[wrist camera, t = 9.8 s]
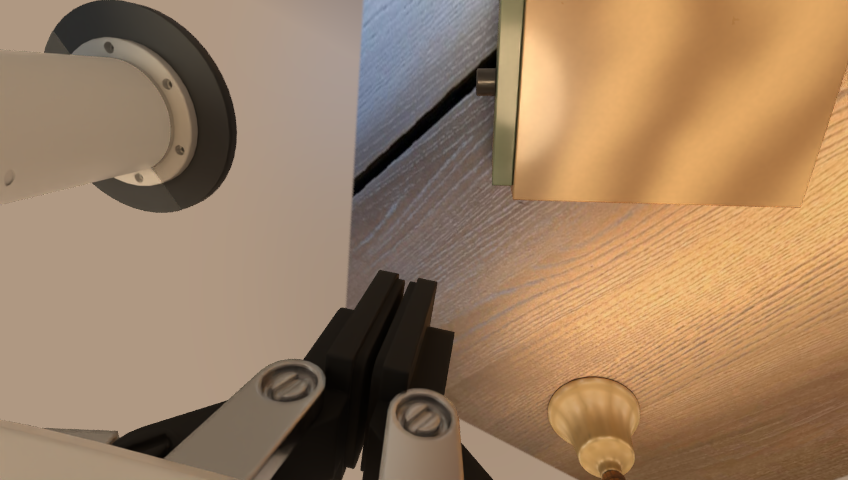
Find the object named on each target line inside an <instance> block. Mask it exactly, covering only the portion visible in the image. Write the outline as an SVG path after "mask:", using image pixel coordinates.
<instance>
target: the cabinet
mask: <svg viewBox="0 0 848 480" xmlns="http://www.w3.org/2000/svg"><path fill="white" fill-rule="evenodd" d="M847 65H848V0H525V6H524V22H523V37H522V52H521V67H520V82H519V97H518V112H517V128H516V143H515V158H514V173H513V185H512V186H510V187H511V192H512V197H513V200H538V201H574V202H610V203H646V204H682V205H719V206H755V207H791V208H800V207H801V205H802V202H803V199H804V196H805V193H806V190H807V187H808V184H809V181H810V178H811V175H812V172H813V169H814V166H815V163H816V159H817V156H818V153H819V150H820V147H821V144H822V141H823V138H824V135H825V132H826V129H827V126H828V123H829V120H830V117H831V114H832V111H833V108H834V104H835V101H836V98H837V95H838V92H839V89H840V86H841V83H842V80H843V77H844V74H845V71H846V68H847Z"/></svg>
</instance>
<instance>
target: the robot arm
mask: <svg viewBox="0 0 848 480" xmlns="http://www.w3.org/2000/svg"><path fill="white" fill-rule="evenodd" d="M197 137H198V127H197V117H196V113H195V109H194V105H193V102H192V100H191V98H190V95H189V93H188V90H187V89H186V87H185V85H184V84H183V82H182V80H181V79H180V77H179V76H178V74H177V73H176V72H175V71H174V70H173V68H172V67H171V66H170V65H169V64H168V63H167V62H166V61H165V60H164V59H163V58H162V57H160V56H159V55H158V54H157V53H155V52H154V51H152V50H151V49H149V48H147V47H146V46H144V45H141V44H139V43H136V42H134V41H131V40H126V39H120V38H111V37H103V38H97V39H92V40H90V41H88V42H86V43H84V44H82V45H80V46H79V47H78V48H77V49H76V50H75V51H74V52H73V53H72V54H71V55H67V54H54V53H40V52H27V51H11V50H0V205H2V204H7V203H10V202H15V201H19V200H23V199H27V198H31V197H35V196H39V195H44V194H48V193H52V192H56V191H60V190H64V189H68V188H72V187H76V186H80V185H84V184H88V183H92V182H97V181H101V180H105V179H109V178H113V177H114V178H116V179H118V180H121V181H123V182H125V183H128V184H133V185H138V186H152V185H157V184H161V183H164V182H167V181H170V180H172V179H174V178H175V177H177V176H178V175H180V174H181V173H182V172H183V171H184V170H185V169H186V168H187V167H188V165H189V163H190V162H191V160H192V158H193V156H194V153H195V149H196V146H197ZM404 286H405V280H402V279H399V274H397V273H392V272H387V271H383V270H379V271H378V273H377V275H376V276H375V278H374V279H373V281H372V282H371V284H370V286H369V287H368V289H367V290H366V292H365V294H364V295H363V297H362V298H361V300H360V301H359V303H358V305H357V306H356V308H355V309H354V310H351V309H347V308H340V309H339V310H338V311H337V313H336V314H335V316H334V317H333V318H332V320H331V321H330V323H329V324H328V326H327V327H326V328H325V330H324V331H323V333H322V334H321V335H320V337H319V338H318V340H317V341H316V343H315V344H314V345H313V347H312V348H311V350H310V351H309V353H308V354H307V355H306V357H305V358H304V360H301V359H288V360H281V361H277V362H275V363H272V364H270V365H268V366H267V367H265V368H264V369H262V370H261V371H260V372H259V373H257V375H255V376H254V377H253V378H252V379H251V380H250V381H249V382H247V383H246V384H245V385H244V386H243V387H242V388H241V389H240V390H239V391H238V392H237V393H235V394H234V395H233V396H232V397H231V398H230V399H229V400H227V401H224V402H221V403H218V404H214V405H211V406H208V407H205V408H202V409H199V410H195V411H192V412H189V413H186V414H183V415H179V416H176V417H173V418H170V419H166V420H163V421H160V422H157V423H154V424H150V425H147V426H144V427H141V428H139V429H136V430H134V431H132V432H129V433H127V434H126V435H124V436H123V437H121V438H119V435H118V431H103V430H79V429H53V428H39V427H35V426H31V425H26V424H21V423H15V422H10V421H5V420H0V480H342V478H343V475H344V472H345V470H346V467H348V468H352V469H354V468H355V466H356V463H357V461H358V458H359V455H360V453H361V450H362V447H363V453H362V461H361V471H364V472H363V480H493V479H492V478H491V477H490V476H489V474H488V473H487V472H486V471H485V470H484V469H483V468H482V466H481V465H480V464H479V463H478V462H477V460H476V459H475V458H474V457H473V456H472V455H471V453H470V452H469V451H468V450H467V449H466V448H465V447H464V445H463V444H462V443H461V437H460V425H459V416H458V413H457V409H456V408H455V407H454V405H453V404H452V402H451V401H450V400H449V399H447V398H446V397H445V396H444V393H445V387H446V381H447V375H448V369H449V363H450V357H451V351H452V345H453V339H454V333H455V332H452V331H447V330H442V329H438V328H433V327H430V322H431V316H432V311H433V305H434V299H435V294H436V288H437V282H436V281H431V280H426V279H421V278H418V280H417V283H416V282H411V281H410V283H409V285H408V287H407V290H406V292H405V294H404V296H403V293H404Z"/></svg>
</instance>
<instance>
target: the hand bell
mask: <svg viewBox="0 0 848 480" xmlns="http://www.w3.org/2000/svg"><path fill="white" fill-rule="evenodd" d="M548 419H549V422H550V424H551V426H552V428H553V429H554V431H555V432H556V433H557V434H558V435H559V436H560V437H561V438H562V439H564V440H565V441H566V442H568V443H570V444H572V445H573V447H574V449H575V451H576V454H577V456H578V459H579V462H580V464H581V465H582V467H583V468H584V469H585V470H586V471H587V472H589V473H590V474H592V475H594V476H597V477H600V478H602V480H625V477H624V474H625V473H627V472H628V471H629V470H630V469H631V468H632V466H633V464H634V459H635V456H634V451H633V447H632V441H631V435H632V434H633V433H634V432H635V430H636V428H637V426H638V423H639V420H640V407H639V404H638V401H637V399H636V398H635V396H634V395H633V393H632V392H631V391H630V390H628V389H627V388H626V387H625V386H623V385H622V384H620V383H618V382H615V381H613V380H609V379H606V378H598V377H587V378H581V379H577V380H574V381H571V382H569V383H567V384H565V385H564V386H562V387H561V388H559V389H558V390H557V391H556V392H555V394H554V395H553V396H552V398H551V400H550V402H549V405H548Z"/></svg>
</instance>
